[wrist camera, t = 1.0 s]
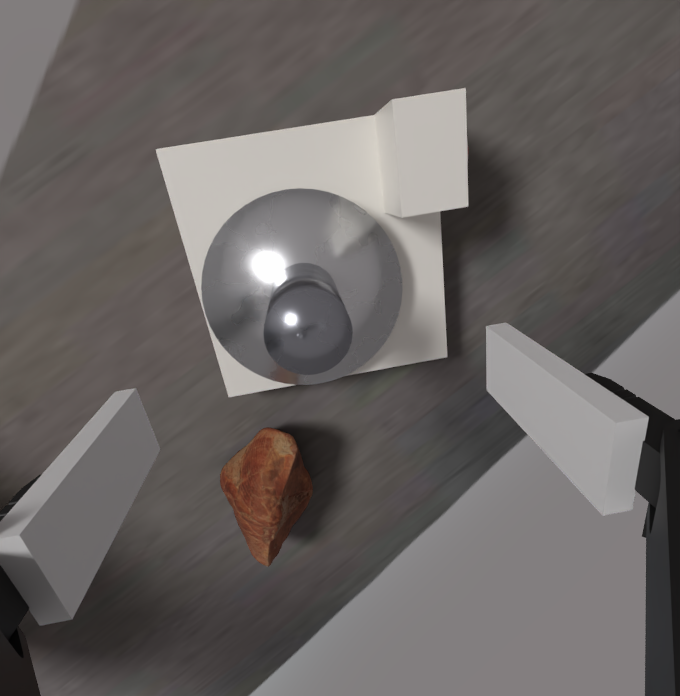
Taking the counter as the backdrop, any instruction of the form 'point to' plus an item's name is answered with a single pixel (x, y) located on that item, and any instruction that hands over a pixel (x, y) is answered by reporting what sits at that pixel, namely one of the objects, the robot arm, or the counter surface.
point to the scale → (350, 183)
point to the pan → (291, 248)
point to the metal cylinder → (306, 321)
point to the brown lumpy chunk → (267, 490)
